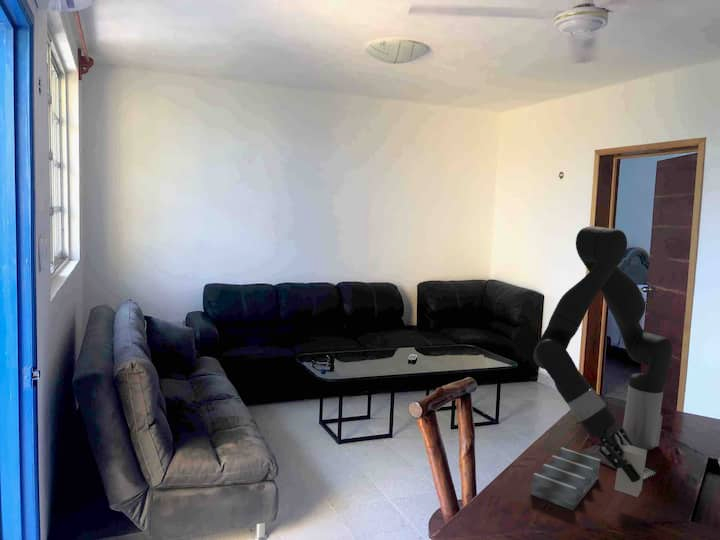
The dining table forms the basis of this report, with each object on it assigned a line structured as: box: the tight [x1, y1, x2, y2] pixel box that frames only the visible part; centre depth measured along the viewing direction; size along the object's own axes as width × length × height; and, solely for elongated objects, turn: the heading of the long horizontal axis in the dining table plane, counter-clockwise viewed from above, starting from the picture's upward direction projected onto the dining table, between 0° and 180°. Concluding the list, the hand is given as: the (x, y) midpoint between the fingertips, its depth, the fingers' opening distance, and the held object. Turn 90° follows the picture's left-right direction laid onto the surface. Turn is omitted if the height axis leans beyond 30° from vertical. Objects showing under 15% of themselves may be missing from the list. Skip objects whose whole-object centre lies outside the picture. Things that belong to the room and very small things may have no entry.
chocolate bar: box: [577, 444, 659, 481], centre depth 161 cm, size 9×1×18 cm
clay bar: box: [614, 444, 648, 498], centre depth 136 cm, size 5×4×10 cm
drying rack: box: [530, 447, 601, 511], centre depth 146 cm, size 10×20×5 cm, turn 143°
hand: (639, 476), depth 135 cm, fingers closed on clay bar, 4 cm apart
